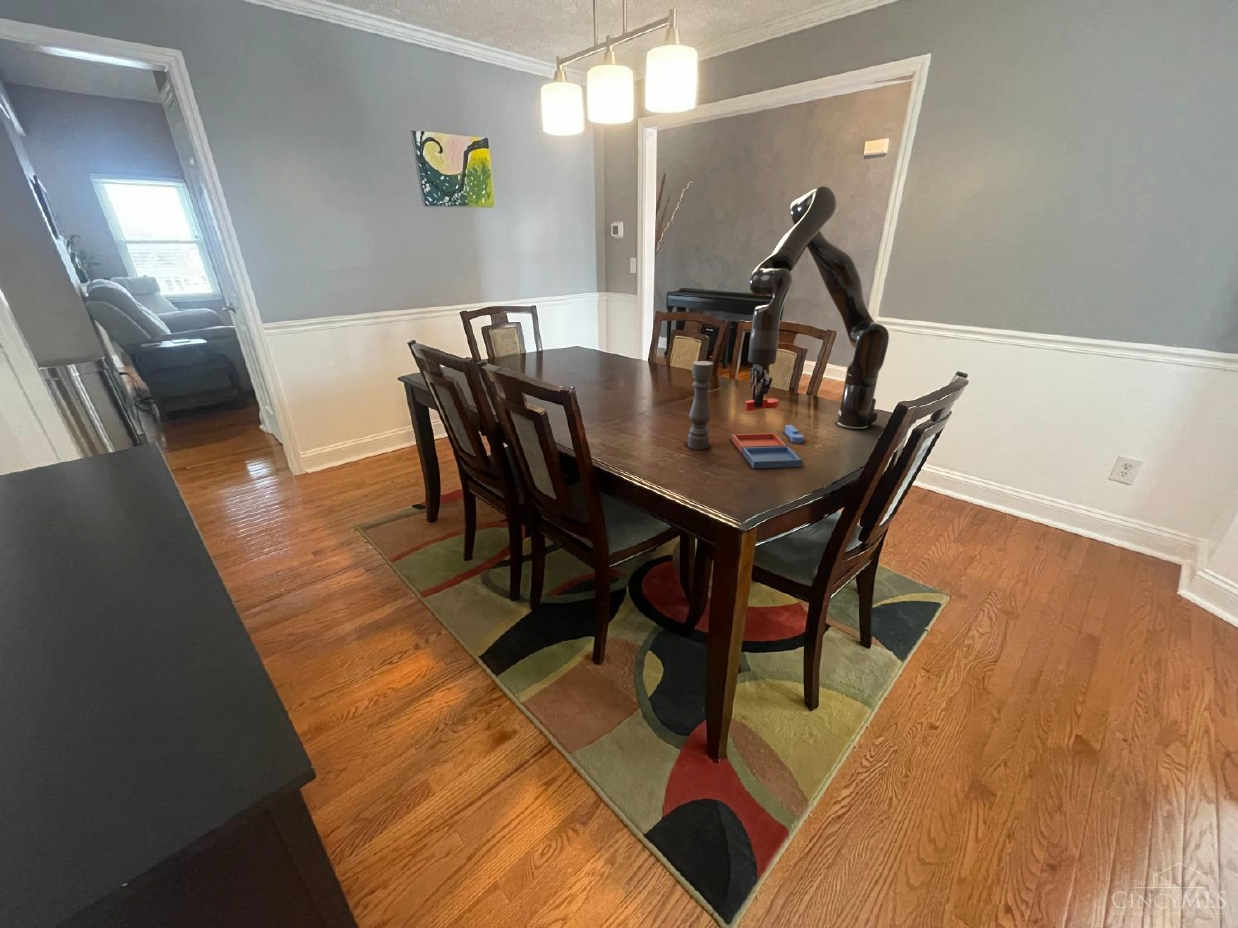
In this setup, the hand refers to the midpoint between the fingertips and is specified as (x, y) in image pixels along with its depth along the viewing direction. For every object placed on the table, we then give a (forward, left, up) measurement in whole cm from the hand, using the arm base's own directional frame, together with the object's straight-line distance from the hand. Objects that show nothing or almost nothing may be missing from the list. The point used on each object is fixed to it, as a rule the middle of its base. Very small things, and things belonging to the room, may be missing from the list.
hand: (756, 405), depth 142 cm
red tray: (-2, 0, -13) cm, 13 cm away
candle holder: (+16, -1, -13) cm, 21 cm away
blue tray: (-2, +11, -13) cm, 17 cm away
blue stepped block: (-15, -5, -13) cm, 20 cm away
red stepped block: (-2, 0, -1) cm, 2 cm away
